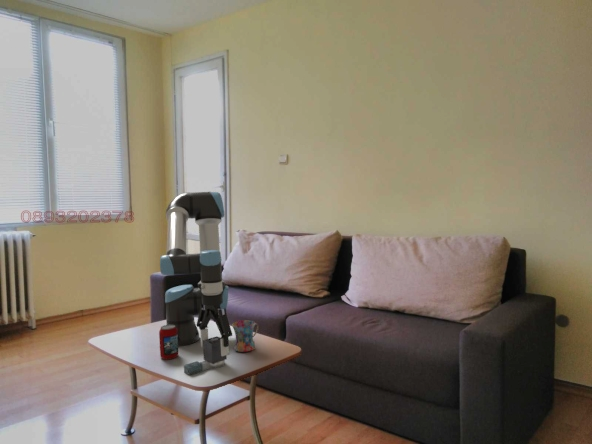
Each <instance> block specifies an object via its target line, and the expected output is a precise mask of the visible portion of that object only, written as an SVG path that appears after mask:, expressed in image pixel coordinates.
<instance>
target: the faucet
mask: <svg viewBox="0 0 592 444" xmlns="http://www.w3.org/2000/svg"><path fill="white" fill-rule="evenodd" d="M225 365H226V360H223V361H220V362H216V363H213V364H212V363H210V362H208V361H206V360H203V361H200V362H199V360H196V361H193V362H190V363H187V364H183V372H184V373H185V374H186V375H188V376H192V375H195V374H198V373H202V372H204V371H206V370H210V369H218V368H222V367H224V366H225Z"/></svg>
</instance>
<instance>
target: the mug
mask: <svg viewBox="0 0 592 444" xmlns="http://www.w3.org/2000/svg"><path fill="white" fill-rule="evenodd" d="M231 326H232V329H233V332H234V334H235V343H234V347H233V349H234V351H236V352H240V353H246V352H251V351H254V350H255V349H256V344H255V342H254V339H253V338H254V337H255V336H256V335H257V333H258V331H259V327H260V326H259V323H256V322H255V321H253V320H248V319H247V320H246V319H245V320H238V321H234V322H233V323H232V324H231ZM255 326H256V331H254V329H255Z"/></svg>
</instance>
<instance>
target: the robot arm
mask: <svg viewBox="0 0 592 444" xmlns="http://www.w3.org/2000/svg"><path fill="white" fill-rule="evenodd" d="M224 207H225V206H224V202H223V198H222V195H221V193H220V192H219V191H200V192H199V191H198V192H196V191H195V192H183V193H181V194H178V195H177V196H176V197H174V198H172V200H171V201H170V202H169V203H168V205H167V208H166V210H165V218H166V221H167V230H166V231H167V235H166V236H167V237H166V253H165V255H161V256H160V258H159V269H160V270H159V271H160V274H161V275H162V276H177V275H178V276H179V275H193V274H200V281H199V282H198V283H197V287H194V286H193V284H182V285H178V286H174V287H171V288H169V289H167V290H166V291H165V295H164V297H165V299H164V303H165V317H166V318H165V320H166V324H165V325H175V327H176V329H177V334H178V347H181V346H188V345H192V344H194V343H197V342H199V340H200V345H201V346H200V347H201V348H203V340H205V339H209V329H208V328H209V323H210V322H211V320H212V321H213V322H214V323H215V324H216V327H217V329H218V331H219V333H220V340H221V356H225V355H227V356H229V355H230V353H229V351H230V350H229V349H230V348H229V346H230V345H229V342H230V341H229V337H232V336H233V332H232V329H231V325H230V321H229V319H228V315H227V309H228V304H229V303H228V302H229V286H228V285H226V282H225V280H224V279H223V275H222V274H223V273H222V254H221V250H220V248H221V247H220V234H219V233H220V232H219V231H220V230H219V229H220V228H219V225H220V223H222V218H225V210H224ZM190 219H194V222H195V224H196V225H197V226H198V233H199V237H198V238H199V253H187V221H188V220H190ZM196 316H198V318H197V320H196V321H197V322H195V317H196ZM198 328H199V330H200V332H199V330H198Z"/></svg>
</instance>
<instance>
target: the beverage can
mask: <svg viewBox="0 0 592 444" xmlns="http://www.w3.org/2000/svg"><path fill="white" fill-rule="evenodd" d="M158 335H159V337H158V339H159V351H160V352H159V353H160V358H162V359H163V360H172V359H173V360H174V359H175V358H177V356H179V346H178V334H177V329H176V327H175V325H166V324H165V325H162V326H160V329H159V333H158Z"/></svg>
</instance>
